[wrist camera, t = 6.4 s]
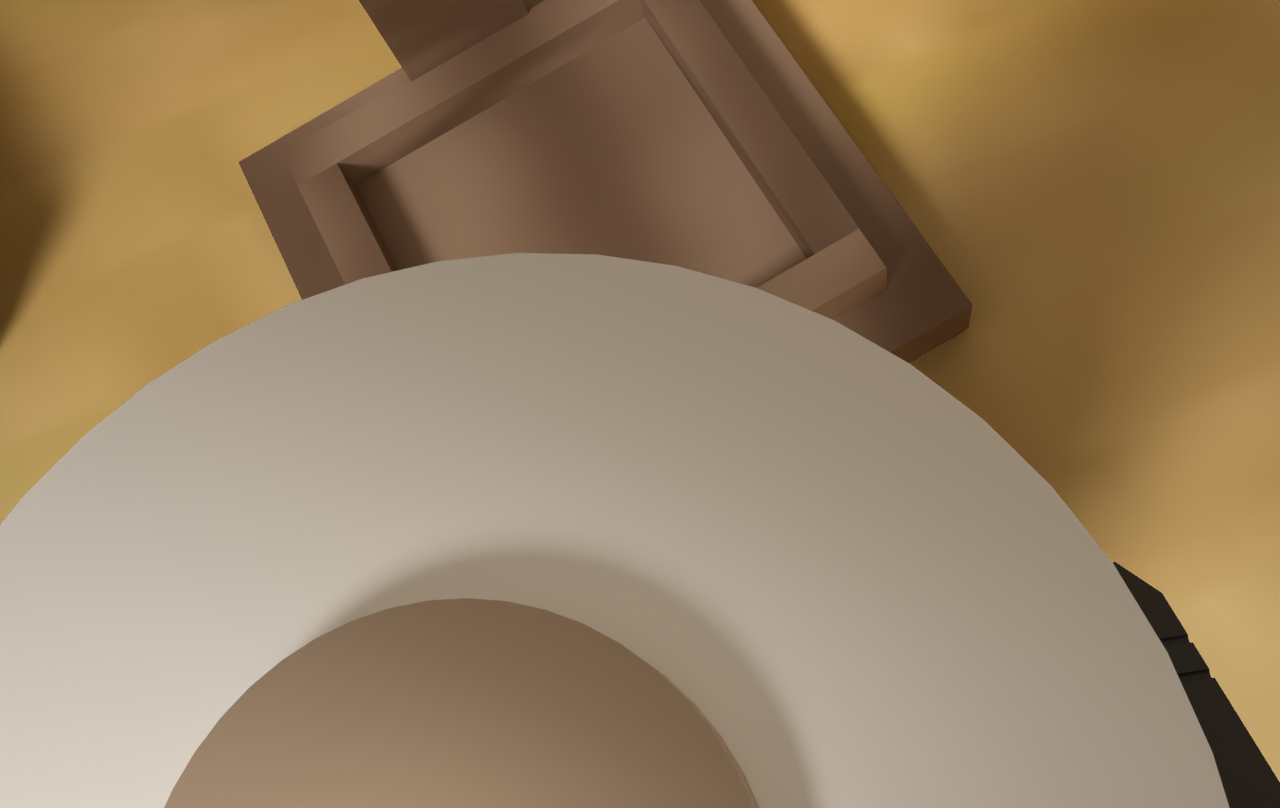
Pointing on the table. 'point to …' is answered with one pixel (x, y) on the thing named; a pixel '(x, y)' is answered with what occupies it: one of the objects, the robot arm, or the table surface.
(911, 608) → the paper roll
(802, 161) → the walnut holder
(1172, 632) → the robot arm
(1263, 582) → the table surface
